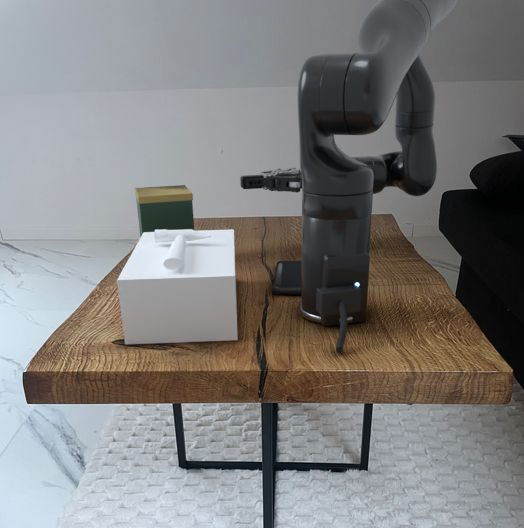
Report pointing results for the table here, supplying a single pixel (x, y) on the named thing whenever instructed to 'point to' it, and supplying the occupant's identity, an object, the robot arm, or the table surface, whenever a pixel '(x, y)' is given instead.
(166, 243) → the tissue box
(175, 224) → the tea tin
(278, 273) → the phone
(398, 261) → the table surface
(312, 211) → the robot arm
